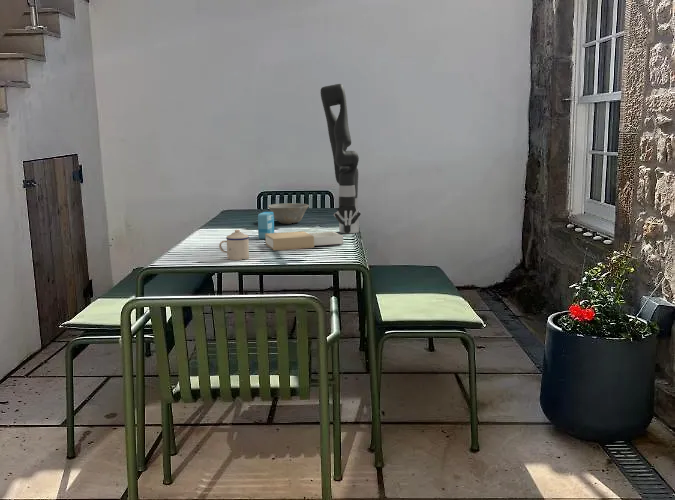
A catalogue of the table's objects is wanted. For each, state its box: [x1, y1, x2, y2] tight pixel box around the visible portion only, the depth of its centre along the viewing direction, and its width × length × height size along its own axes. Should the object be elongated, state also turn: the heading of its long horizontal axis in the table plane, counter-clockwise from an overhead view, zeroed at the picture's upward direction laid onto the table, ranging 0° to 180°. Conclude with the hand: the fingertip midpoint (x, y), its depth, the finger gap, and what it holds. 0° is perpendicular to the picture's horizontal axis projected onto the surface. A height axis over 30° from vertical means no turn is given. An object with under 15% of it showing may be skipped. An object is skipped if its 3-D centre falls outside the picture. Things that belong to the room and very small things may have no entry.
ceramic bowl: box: [267, 202, 310, 225], centre depth 368 cm, size 22×23×10 cm
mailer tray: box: [265, 231, 344, 248], centre depth 295 cm, size 32×14×4 cm, turn 109°
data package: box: [257, 211, 275, 240], centre depth 318 cm, size 12×4×12 cm, turn 170°
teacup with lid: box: [218, 229, 250, 261], centre depth 265 cm, size 12×9×12 cm
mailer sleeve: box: [264, 230, 315, 251], centre depth 293 cm, size 18×16×5 cm
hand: (347, 233), depth 302 cm, fingers closed
